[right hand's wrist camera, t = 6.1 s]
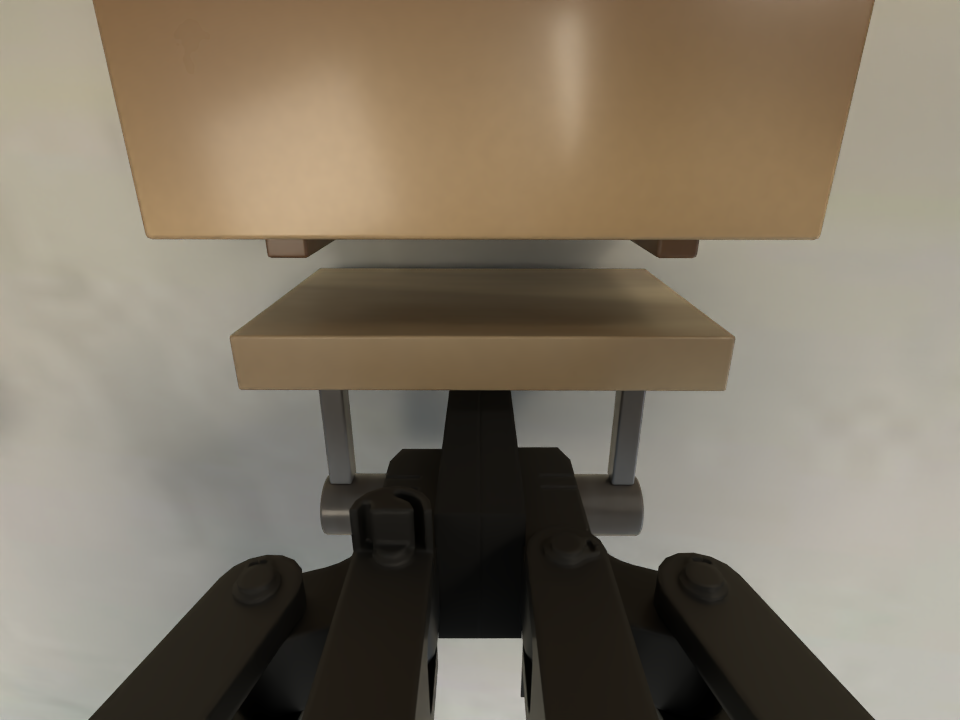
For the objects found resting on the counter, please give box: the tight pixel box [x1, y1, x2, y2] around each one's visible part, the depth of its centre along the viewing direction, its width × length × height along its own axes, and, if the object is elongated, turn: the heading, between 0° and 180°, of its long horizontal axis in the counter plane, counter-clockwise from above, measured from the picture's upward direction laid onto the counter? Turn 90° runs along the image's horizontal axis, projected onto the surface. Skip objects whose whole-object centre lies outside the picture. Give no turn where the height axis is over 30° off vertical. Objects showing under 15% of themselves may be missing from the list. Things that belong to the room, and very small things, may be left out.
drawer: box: [230, 239, 735, 536], centre depth 12 cm, size 24×10×6 cm, turn 0°
